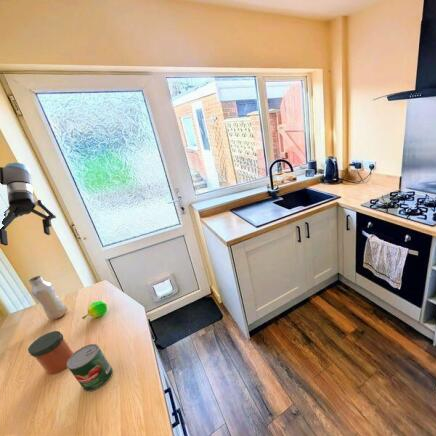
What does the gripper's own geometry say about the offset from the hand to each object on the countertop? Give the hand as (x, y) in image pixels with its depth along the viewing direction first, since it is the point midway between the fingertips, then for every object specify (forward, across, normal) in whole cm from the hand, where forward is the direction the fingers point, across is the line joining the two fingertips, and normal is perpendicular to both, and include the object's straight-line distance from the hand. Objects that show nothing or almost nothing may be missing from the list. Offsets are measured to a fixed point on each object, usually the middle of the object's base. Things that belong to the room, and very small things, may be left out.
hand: (26, 239), depth 101 cm
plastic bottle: (+31, 0, -16) cm, 35 cm away
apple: (+39, -15, -9) cm, 43 cm away
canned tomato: (+63, -20, +15) cm, 68 cm away
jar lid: (+45, -8, +13) cm, 48 cm away
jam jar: (+53, -8, +6) cm, 54 cm away
